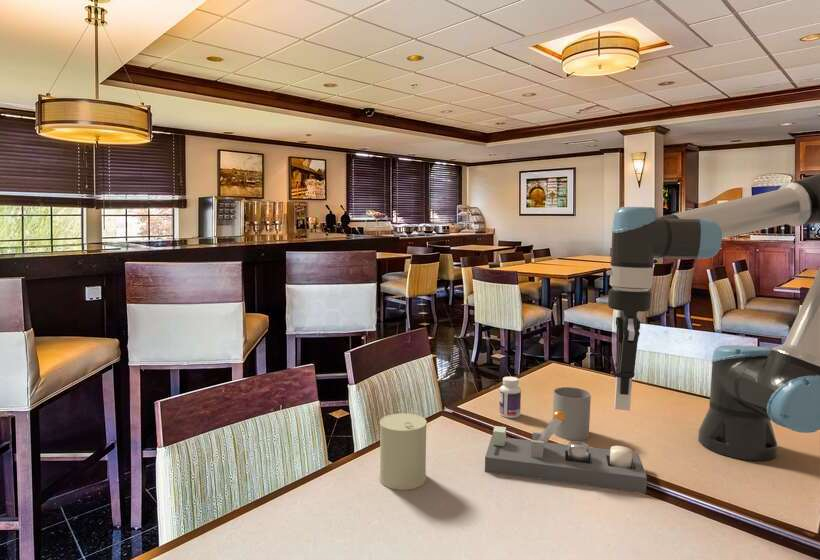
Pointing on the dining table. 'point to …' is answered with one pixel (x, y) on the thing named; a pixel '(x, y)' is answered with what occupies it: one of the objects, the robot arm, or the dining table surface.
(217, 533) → the dining table surface
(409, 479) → the can
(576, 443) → the grey button
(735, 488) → the dining table surface
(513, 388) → the pill bottle
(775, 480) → the dining table surface
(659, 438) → the dining table surface
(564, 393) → the cup
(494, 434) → the slider
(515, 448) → the panel
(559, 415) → the lever
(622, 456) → the ivory button
